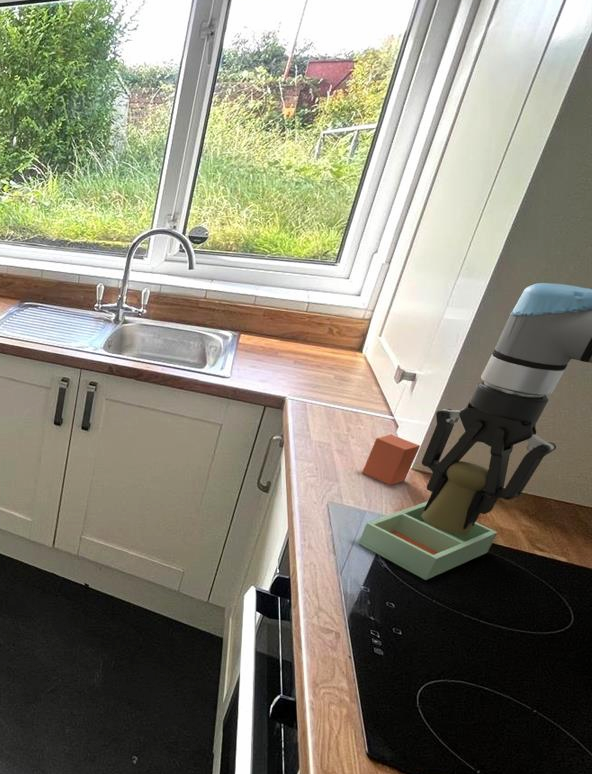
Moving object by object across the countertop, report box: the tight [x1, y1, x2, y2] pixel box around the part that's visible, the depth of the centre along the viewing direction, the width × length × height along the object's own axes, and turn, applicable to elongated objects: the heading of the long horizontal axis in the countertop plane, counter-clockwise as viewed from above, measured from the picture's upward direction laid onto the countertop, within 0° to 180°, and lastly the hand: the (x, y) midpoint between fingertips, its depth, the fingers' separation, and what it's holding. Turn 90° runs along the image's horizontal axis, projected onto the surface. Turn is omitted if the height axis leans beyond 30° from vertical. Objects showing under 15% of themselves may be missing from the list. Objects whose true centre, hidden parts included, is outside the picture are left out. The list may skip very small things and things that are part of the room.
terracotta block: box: [361, 434, 421, 486], centre depth 115 cm, size 5×5×8 cm
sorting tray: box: [357, 500, 499, 581], centre depth 95 cm, size 18×9×4 cm, turn 113°
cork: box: [421, 460, 489, 535], centre depth 94 cm, size 6×6×11 cm
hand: (448, 517), depth 96 cm, fingers closed on cork, 4 cm apart
